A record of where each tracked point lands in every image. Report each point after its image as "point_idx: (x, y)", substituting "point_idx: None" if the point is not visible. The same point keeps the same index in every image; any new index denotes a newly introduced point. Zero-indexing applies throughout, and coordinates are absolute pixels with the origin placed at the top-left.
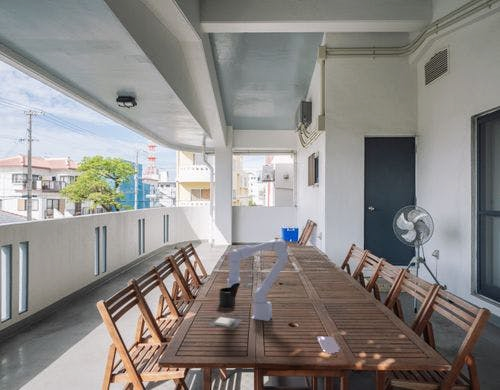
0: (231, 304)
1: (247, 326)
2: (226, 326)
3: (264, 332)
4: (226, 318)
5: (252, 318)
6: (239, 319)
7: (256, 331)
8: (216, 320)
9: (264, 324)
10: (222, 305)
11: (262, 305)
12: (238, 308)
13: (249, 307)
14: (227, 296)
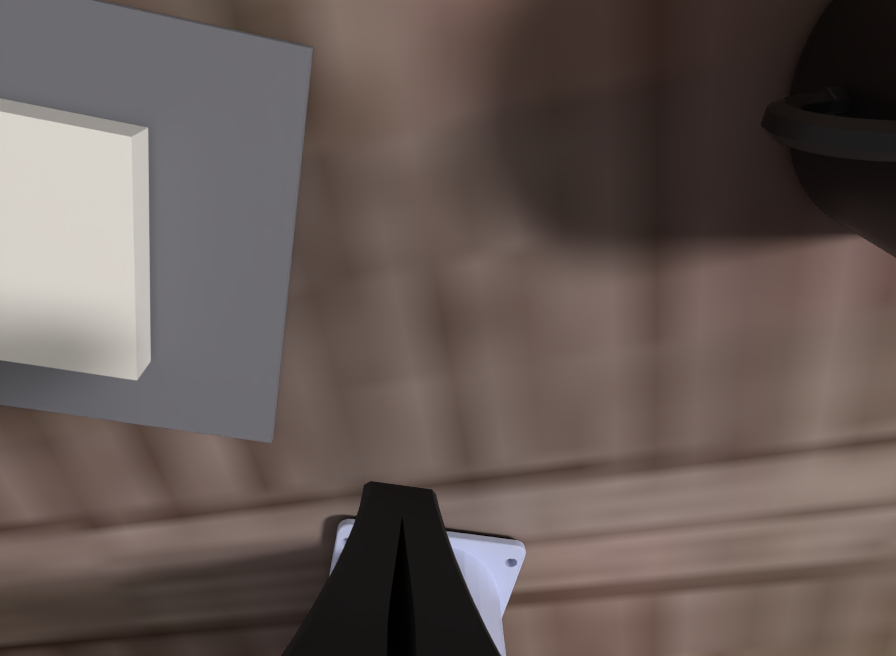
0: (827, 204)
1: (103, 506)
2: None
3: (31, 652)
4: (110, 258)
5: (337, 534)
6: (258, 404)
7: (16, 595)
8: (85, 58)
9: (229, 635)
10: (840, 8)
11: None
12: (732, 309)
13: (763, 444)
14: None
